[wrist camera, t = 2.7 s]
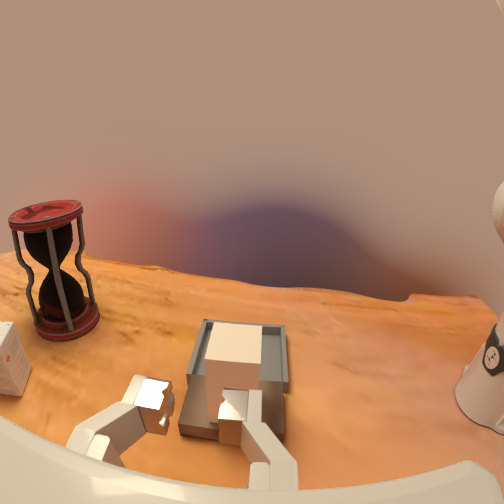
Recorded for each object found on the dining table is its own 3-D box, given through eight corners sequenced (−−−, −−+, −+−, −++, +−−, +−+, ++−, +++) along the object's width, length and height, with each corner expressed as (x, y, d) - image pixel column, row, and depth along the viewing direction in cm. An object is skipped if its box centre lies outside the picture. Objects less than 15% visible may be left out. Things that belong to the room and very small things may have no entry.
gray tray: (283, 335, 59) (284, 325, 58) (286, 392, 45) (288, 382, 44) (203, 329, 60) (203, 319, 59) (187, 384, 45) (186, 373, 44)
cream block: (256, 389, 42) (262, 325, 37) (253, 426, 35) (260, 363, 31) (215, 386, 42) (214, 322, 37) (208, 422, 35) (204, 358, 31)
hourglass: (89, 295, 67) (75, 195, 58) (109, 328, 57) (90, 209, 47) (32, 311, 57) (9, 209, 48) (40, 350, 46) (5, 227, 37)
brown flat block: (280, 393, 45) (282, 381, 43) (281, 444, 35) (284, 433, 34) (193, 386, 45) (191, 374, 44) (180, 434, 36) (177, 423, 35)
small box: (11, 365, 40) (-9, 319, 36) (33, 367, 42) (14, 320, 38) (-1, 394, 33) (-27, 347, 29) (22, 397, 35) (-3, 350, 31)
